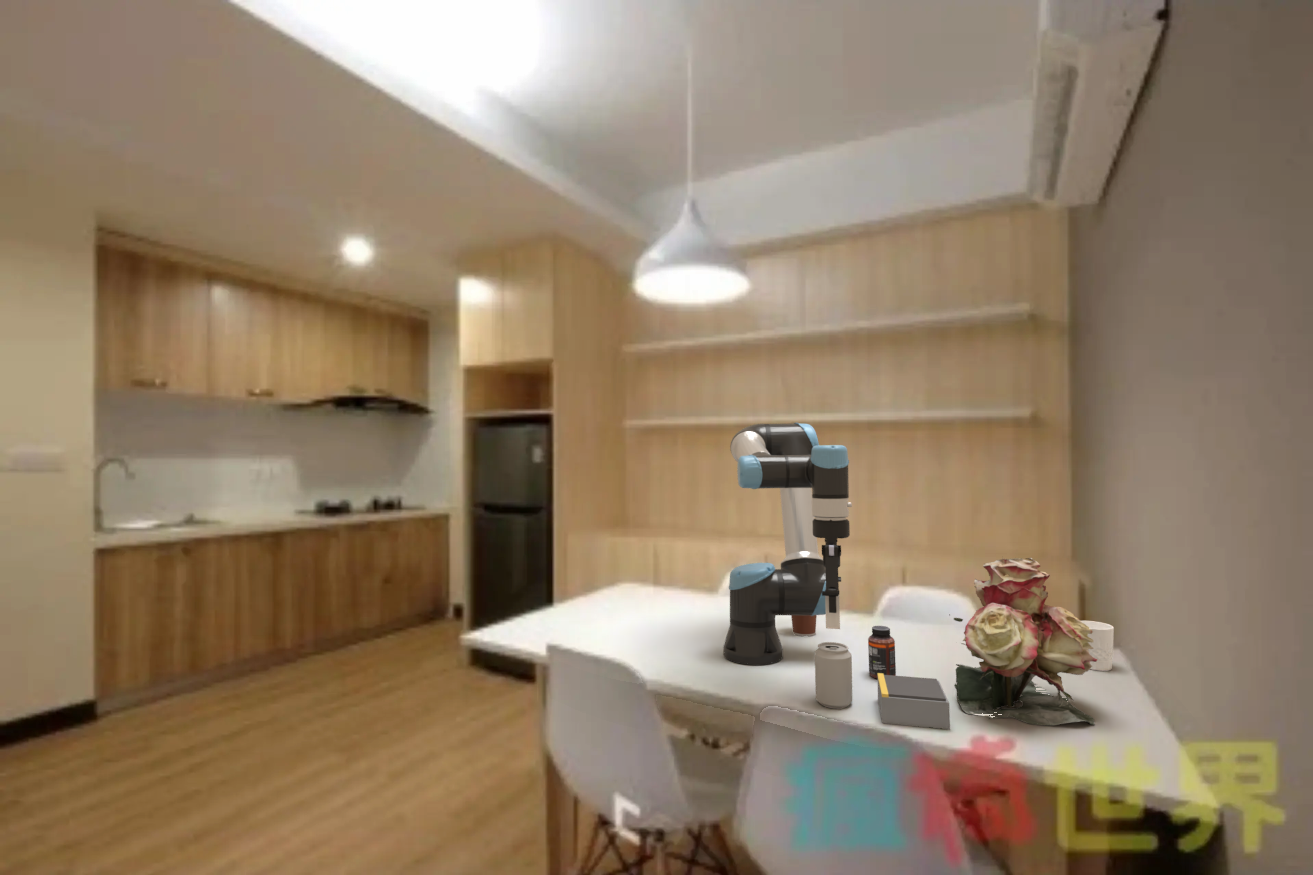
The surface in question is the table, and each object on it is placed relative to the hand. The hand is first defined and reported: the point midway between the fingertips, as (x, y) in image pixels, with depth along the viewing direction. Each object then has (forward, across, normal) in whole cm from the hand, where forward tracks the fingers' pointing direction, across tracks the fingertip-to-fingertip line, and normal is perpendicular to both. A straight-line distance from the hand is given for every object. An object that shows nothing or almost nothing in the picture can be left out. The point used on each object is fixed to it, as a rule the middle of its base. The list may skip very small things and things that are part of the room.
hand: (832, 620), depth 133 cm
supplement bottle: (+17, +19, -11) cm, 28 cm away
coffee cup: (+17, +51, +8) cm, 55 cm away
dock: (+17, -2, -15) cm, 23 cm away
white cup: (+17, +38, -61) cm, 74 cm away
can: (+18, 0, 0) cm, 18 cm away
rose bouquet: (+18, +10, -38) cm, 43 cm away
